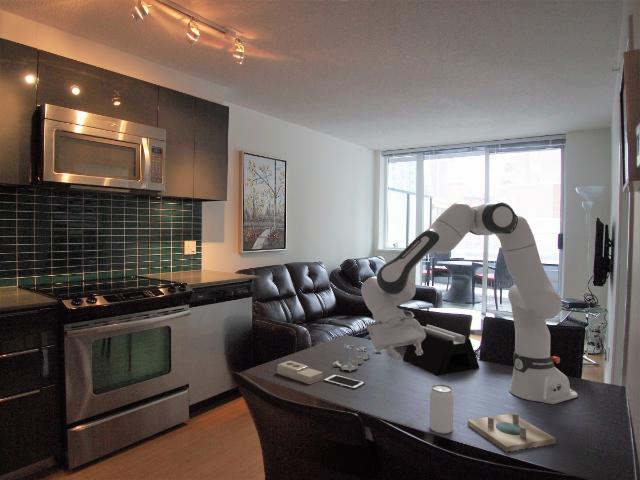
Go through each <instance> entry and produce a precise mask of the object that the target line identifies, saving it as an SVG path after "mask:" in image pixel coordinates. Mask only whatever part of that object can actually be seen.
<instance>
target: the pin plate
mask: <svg viewBox="0 0 640 480" xmlns="http://www.w3.org/2000/svg"><path fill="white" fill-rule="evenodd" d="M467 426H468V427H470V428H471V429H473V430H474V431H476V432H477V433H478V434H480V435H481V436H483V437H484V436H485V437H486V439H487V438H488V439H489V440H488V439H487V440H488V441H490V442H491V441H492V442H491V443H493V444H494V445H495V444H496V445H495V446H497V447H498V446H499V449H501V448H502V449H503V451H504V450H505V451H506V453H508V452H507V451H511V452H514V451H513V450H517V451H520V450H519V449H523V450H526V449H525V448H528V449H533V448H532V447H534V448H539V447H544V445H545V446H550V445H555V444H556V437H554V436H552V435H550V434H549V433H547V432H545V431H544V430H542V429H540V428H538V427H536V426H535V425H533V424H531V423H530V422H528V421H526V420H525V419H523V418H521V417H520V416H519V414H518V413H516V412H513V413H506V414H500V415H493V416H485V417H479V418H471V419H467ZM485 437H484V438H485ZM538 446H539V447H538ZM502 449H501V450H502ZM505 451H504V452H505Z"/></svg>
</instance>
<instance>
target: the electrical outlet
mask: <svg viewBox="0 0 640 480" xmlns="http://www.w3.org/2000/svg"><path fill="white" fill-rule="evenodd" d="M276 371H277V374H279V375H281V376H284V377H287V378H290V379H293V380H296V381H298V382H302V383H305V384H308V385H312V384H315V383H317V382H321V381H323V379H324V377H323V376H324V374H323V373H324V372H323V371H320V370H316V369H313V368H309V366H308V365H307V364H303V363H300V362H296V361H293V360H287V361H284V362H280V363H278V364H277V370H276Z"/></svg>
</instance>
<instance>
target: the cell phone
mask: <svg viewBox="0 0 640 480" xmlns="http://www.w3.org/2000/svg"><path fill="white" fill-rule="evenodd" d="M322 381H323V382H325V383H329V384H332V385H336V386H339V387H343V388H346V389H351V390H354V391H355V390H358V389H360V388H361V387H363V386H364V385H366V383H365V381H363V380H358V379H354V378H351V377H346V376H342V375H338V374H336V373H335V374H331V375H329V376H327V377H324V378H323V380H322Z"/></svg>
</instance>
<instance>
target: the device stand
mask: <svg viewBox="0 0 640 480" xmlns="http://www.w3.org/2000/svg"><path fill="white" fill-rule="evenodd" d="M421 327H422V328H423V330H424V332H425V334H426V338H425V339H424V340H423V341H422V342H421V349H422V351H423V354H422V355H417V354H416V353H415V351H416V346H414V345H413V344H410V345H406V349H405V352H404V354H403V357H402V360H403V361H405V362H406V363H409V364H411V365H413V366H415V367H418V368H419V369H422V370H424V371H426V372H428V373H431V374H433V375H435V376H437V377H439V376H440V377H441V376H446V375H450V374H456V373H463V372H468V371H474V370H479V369H480V364H479V362H478V358H477V356H476V352H475V349H474V346H473V344H472V341H471V338H469V337H466V336H465V335H462V334H460V333H456V332H453V331H450V330H447V329H444V328H441V327H437V326H434V325H430V324H426V326H424V325H423V326H422V325H421Z"/></svg>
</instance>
